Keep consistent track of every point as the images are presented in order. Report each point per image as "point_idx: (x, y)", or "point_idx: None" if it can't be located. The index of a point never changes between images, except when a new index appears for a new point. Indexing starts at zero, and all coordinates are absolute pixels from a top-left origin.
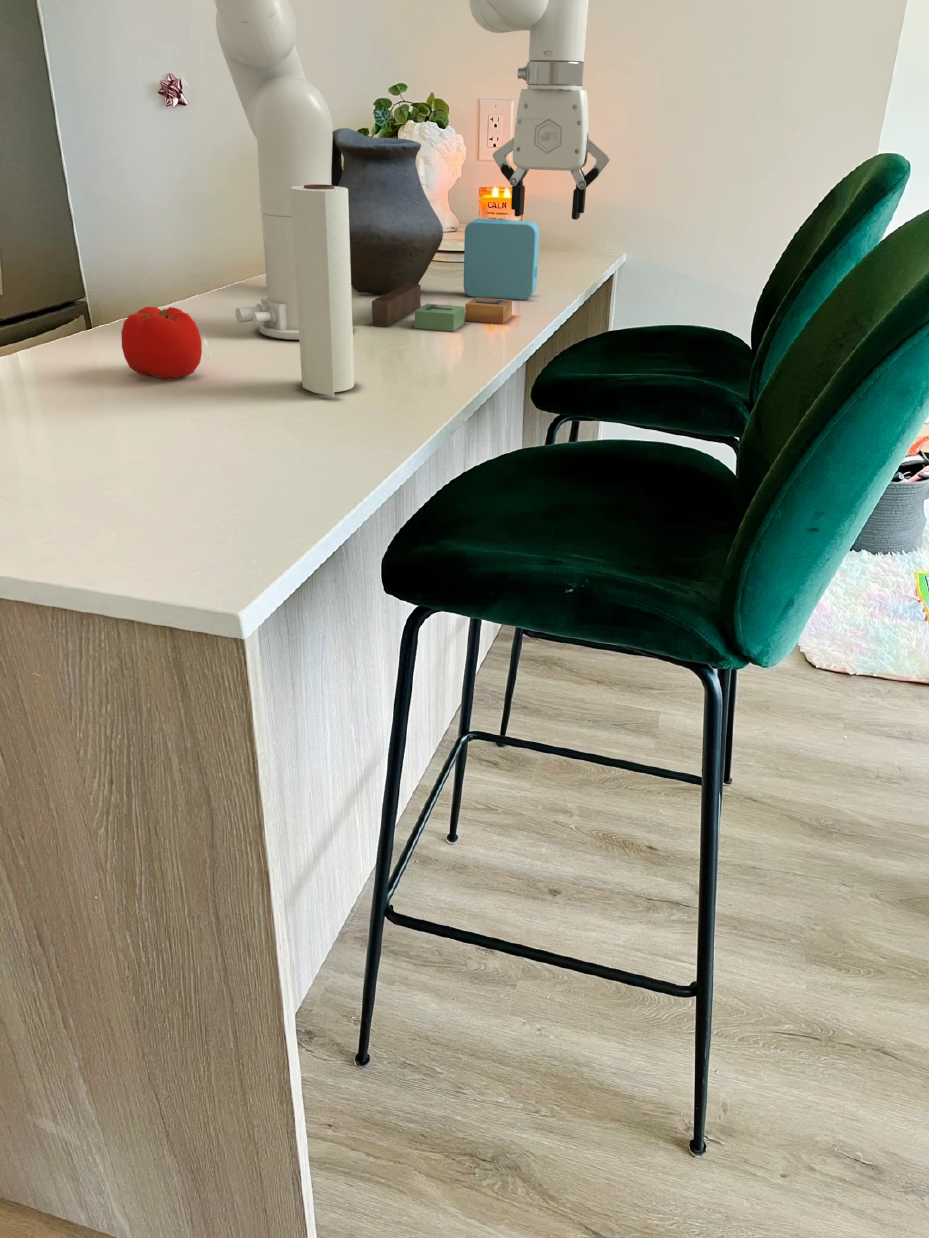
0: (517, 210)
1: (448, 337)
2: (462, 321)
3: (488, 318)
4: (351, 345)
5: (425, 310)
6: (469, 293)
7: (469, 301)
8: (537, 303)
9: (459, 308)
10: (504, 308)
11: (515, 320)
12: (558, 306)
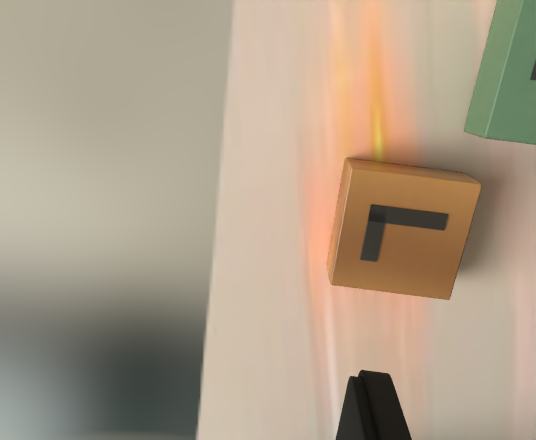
0: (373, 392)
1: None
2: (474, 106)
3: (392, 165)
4: None
5: None
6: None
7: (469, 226)
8: (271, 436)
9: (504, 95)
10: (348, 177)
11: (312, 219)
12: (215, 413)
